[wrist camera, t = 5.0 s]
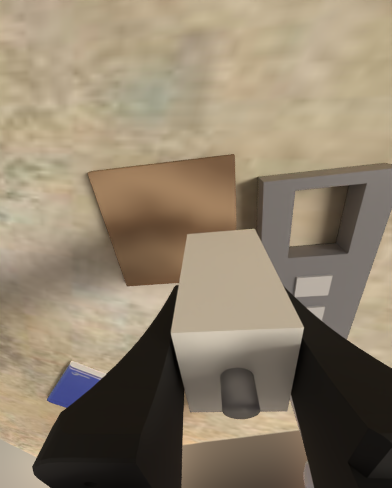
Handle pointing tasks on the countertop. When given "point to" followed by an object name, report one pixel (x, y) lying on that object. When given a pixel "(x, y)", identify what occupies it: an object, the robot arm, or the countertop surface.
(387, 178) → the power strip
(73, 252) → the countertop surface
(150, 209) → the coaster
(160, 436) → the robot arm
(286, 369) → the block
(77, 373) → the hard drive
